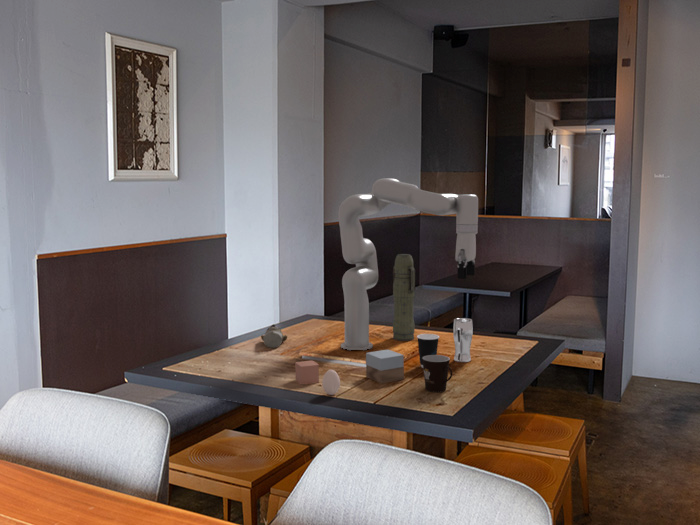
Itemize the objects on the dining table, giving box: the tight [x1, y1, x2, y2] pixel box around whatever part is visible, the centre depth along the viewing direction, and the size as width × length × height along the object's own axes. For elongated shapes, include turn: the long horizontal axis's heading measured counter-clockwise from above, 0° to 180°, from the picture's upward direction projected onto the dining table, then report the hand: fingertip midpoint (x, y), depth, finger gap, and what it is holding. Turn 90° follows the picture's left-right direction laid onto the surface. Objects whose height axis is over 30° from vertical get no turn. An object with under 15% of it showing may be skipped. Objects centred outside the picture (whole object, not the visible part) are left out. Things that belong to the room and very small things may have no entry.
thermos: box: [392, 253, 416, 342], centre depth 294 cm, size 9×12×35 cm
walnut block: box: [365, 364, 405, 385], centre depth 238 cm, size 9×9×4 cm
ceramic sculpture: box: [260, 324, 288, 349], centre depth 285 cm, size 11×9×15 cm
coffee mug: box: [422, 354, 453, 393], centre depth 223 cm, size 12×9×10 cm
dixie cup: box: [416, 333, 440, 369], centre depth 251 cm, size 8×8×11 cm
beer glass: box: [452, 317, 474, 363], centre depth 260 cm, size 7×7×15 cm
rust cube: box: [295, 360, 320, 385], centre depth 235 cm, size 6×6×6 cm
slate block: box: [365, 349, 405, 371], centre depth 237 cm, size 9×9×4 cm
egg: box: [321, 369, 341, 396], centre depth 220 cm, size 6×6×8 cm
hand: (466, 276), depth 256 cm, fingers open, 9 cm apart
